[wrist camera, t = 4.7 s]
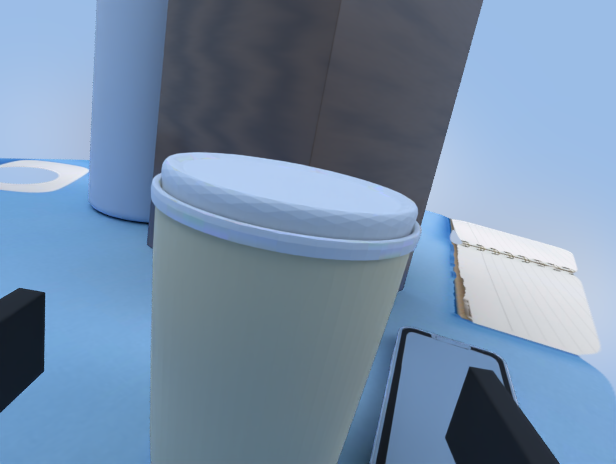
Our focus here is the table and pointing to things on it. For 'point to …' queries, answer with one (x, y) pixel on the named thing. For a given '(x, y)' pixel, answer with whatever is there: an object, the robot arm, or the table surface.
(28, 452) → the table surface
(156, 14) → the cylinder vase
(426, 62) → the dark grey tall block
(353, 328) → the coffee cup
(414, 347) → the smartphone
